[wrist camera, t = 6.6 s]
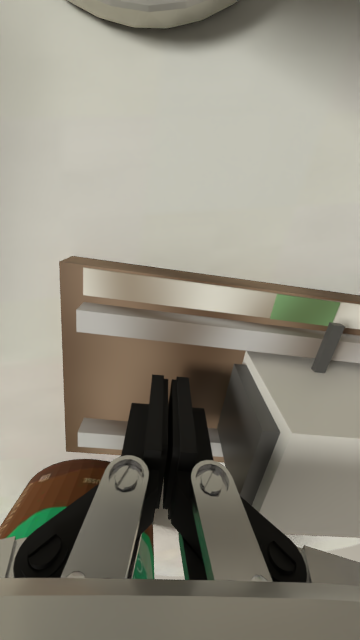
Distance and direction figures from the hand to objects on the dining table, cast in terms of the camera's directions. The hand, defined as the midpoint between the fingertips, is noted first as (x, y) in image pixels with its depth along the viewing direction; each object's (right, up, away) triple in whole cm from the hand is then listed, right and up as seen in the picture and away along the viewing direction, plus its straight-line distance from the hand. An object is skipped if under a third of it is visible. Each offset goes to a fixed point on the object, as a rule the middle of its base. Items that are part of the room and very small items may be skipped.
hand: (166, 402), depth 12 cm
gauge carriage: (+6, +1, +1) cm, 6 cm away
